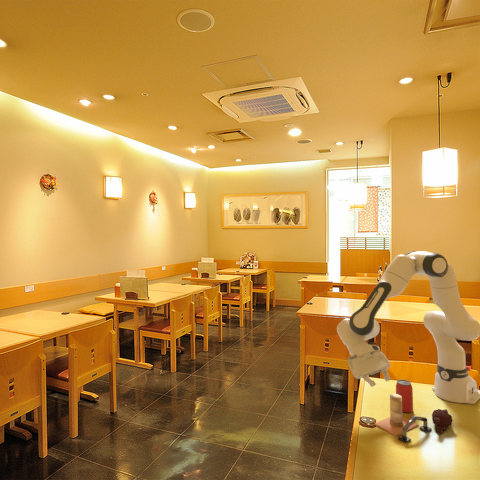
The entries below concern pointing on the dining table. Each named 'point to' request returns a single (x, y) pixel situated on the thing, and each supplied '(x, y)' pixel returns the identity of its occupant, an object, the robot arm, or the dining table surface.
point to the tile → (392, 429)
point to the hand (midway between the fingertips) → (381, 383)
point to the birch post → (396, 410)
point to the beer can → (405, 395)
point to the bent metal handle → (410, 422)
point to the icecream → (441, 419)
